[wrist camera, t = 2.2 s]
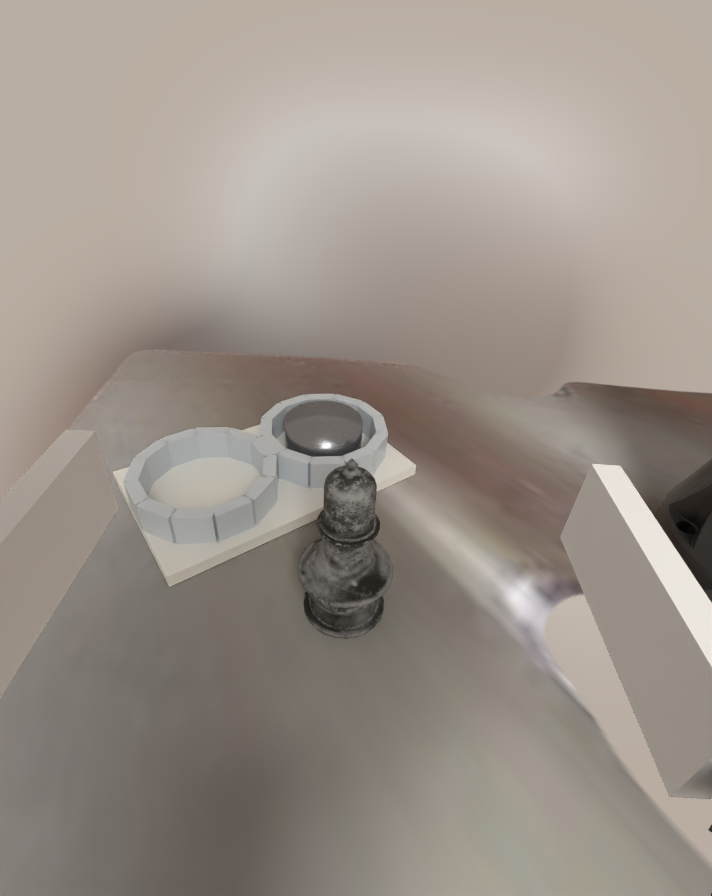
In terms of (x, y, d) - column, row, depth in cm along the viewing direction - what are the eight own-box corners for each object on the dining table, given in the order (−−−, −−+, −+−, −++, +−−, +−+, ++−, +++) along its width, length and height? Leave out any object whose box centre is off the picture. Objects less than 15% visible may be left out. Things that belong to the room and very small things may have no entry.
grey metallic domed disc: (333, 420, 48) (334, 393, 46) (375, 455, 44) (378, 427, 42) (272, 441, 45) (270, 413, 43) (311, 481, 40) (311, 452, 39)
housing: (333, 408, 52) (334, 379, 50) (414, 474, 43) (419, 442, 41) (115, 481, 41) (104, 447, 39) (169, 587, 32) (159, 551, 30)
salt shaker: (313, 560, 35) (312, 420, 28) (393, 576, 34) (414, 436, 27) (287, 631, 30) (278, 485, 23) (380, 652, 30) (400, 506, 22)
